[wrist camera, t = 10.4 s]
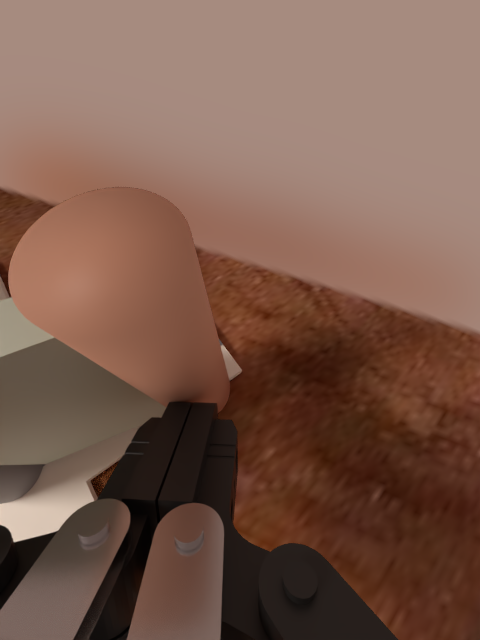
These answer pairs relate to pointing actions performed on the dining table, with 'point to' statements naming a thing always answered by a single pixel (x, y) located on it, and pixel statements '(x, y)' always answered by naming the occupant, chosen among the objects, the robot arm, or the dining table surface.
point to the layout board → (69, 478)
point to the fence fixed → (17, 480)
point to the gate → (102, 325)
